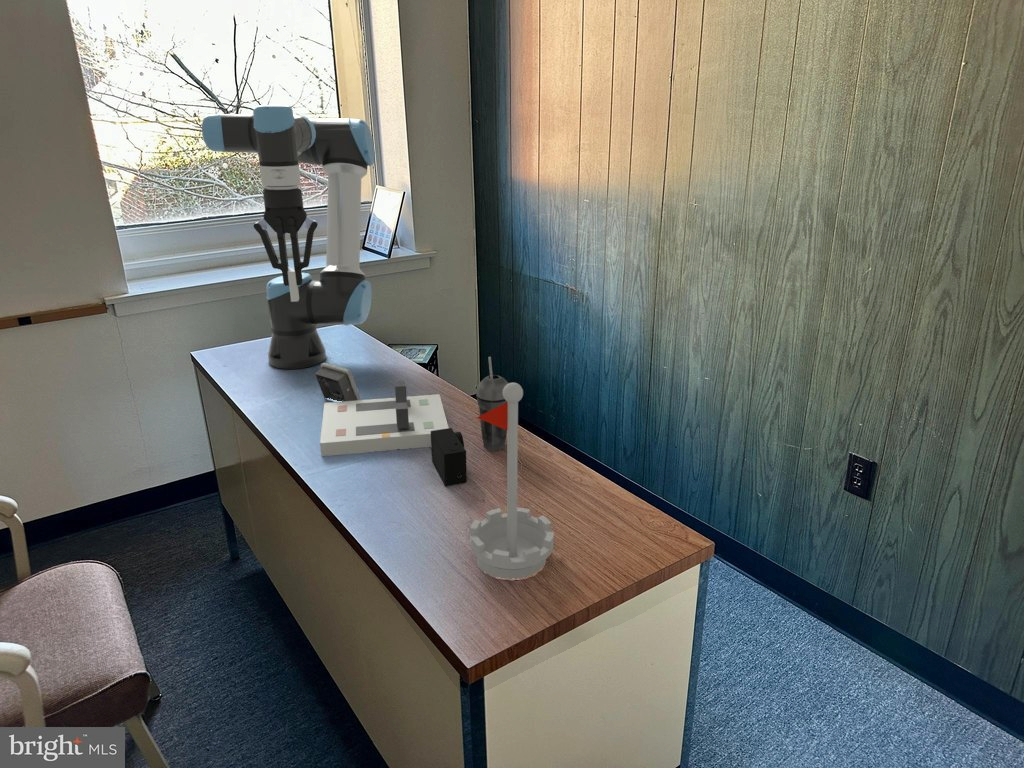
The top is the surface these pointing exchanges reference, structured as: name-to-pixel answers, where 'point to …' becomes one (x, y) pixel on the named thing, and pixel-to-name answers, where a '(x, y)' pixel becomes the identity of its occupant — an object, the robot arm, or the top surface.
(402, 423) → the block
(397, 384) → the block
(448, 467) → the digital camera
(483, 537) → the flag stand
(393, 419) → the breaker panel
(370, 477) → the top surface
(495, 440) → the beverage cup
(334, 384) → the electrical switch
